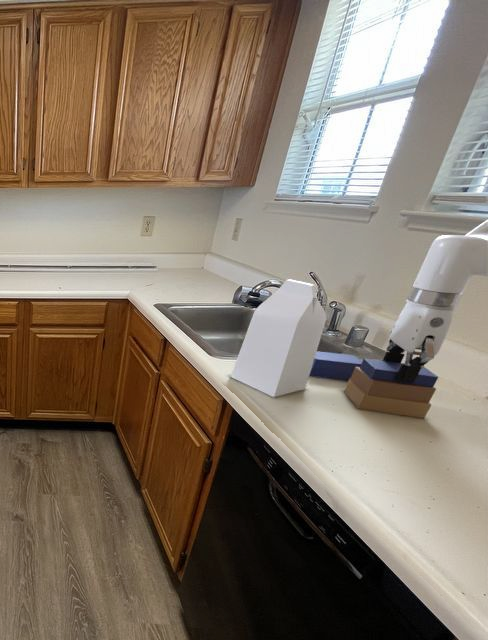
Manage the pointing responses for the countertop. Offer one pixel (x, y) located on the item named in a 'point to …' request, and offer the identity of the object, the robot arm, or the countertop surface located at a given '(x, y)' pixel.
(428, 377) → the navy book
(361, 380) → the tan books
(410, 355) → the robot arm
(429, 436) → the countertop surface
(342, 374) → the navy books
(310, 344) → the milk
